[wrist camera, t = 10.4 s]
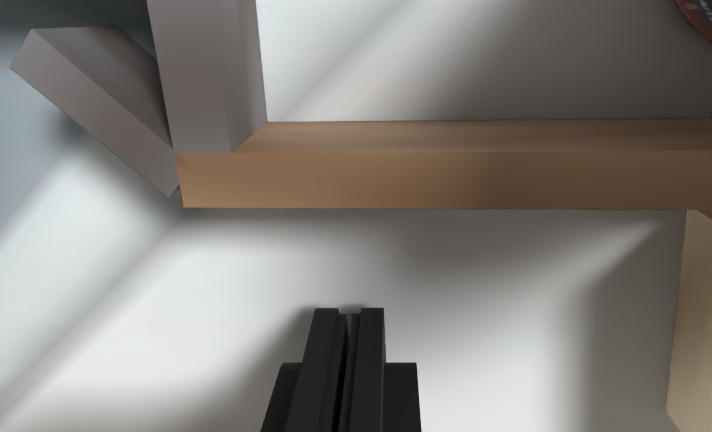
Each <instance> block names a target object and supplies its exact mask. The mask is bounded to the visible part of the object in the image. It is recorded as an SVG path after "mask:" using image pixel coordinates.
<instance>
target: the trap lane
mask: <svg viewBox="0 0 712 432" xmlns="http://www.w3.org/2000/svg"><path fill="white" fill-rule="evenodd" d="M147 6H148V11H149V17H150V23H151V28H152V34H153V39H154V45H155V51H156V56H157V61H156V60H155V59H154V58H152V57H151V56H150V55H149V54H148V53H147V52H146V51H145V50H144V49H142V48H141V47H140V46H139V45H138V44H137V43H136V42H135V41H133V40H132V39H131V38H130V37H129V36H128V35H127V34H126V33H124V32H123V31H122V30H121V29H120V28H119V27H118V26H94V27H68V28H43V29H31V30H30V32H29V34H28V35H27V37H26V39H25V41H24V42H23V44H22V46H21V47H20V49H19V51H18V52H17V54H16V56H15V57H14V59H13V61H12V62H11V64H10V66H9V68H10V69H12V70H13V71H14V72H15V73H16V74H18V75H19V76H20V77H21V78H23V79H24V80H25V81H26V82H27V83H29V84H30V85H31V86H32V87H34V88H35V89H36V90H37V91H38V92H40V93H41V94H42V95H43V96H44V97H46V98H47V99H48V100H49V101H51V102H52V103H53V104H54V105H55V106H57V107H58V108H59V109H60V110H62V111H63V112H64V113H65V114H66V115H68V116H69V117H70V118H71V119H73V120H74V121H75V122H76V123H77V124H79V125H80V126H81V127H82V128H84V129H85V130H86V131H87V132H88V133H90V134H91V135H92V136H93V137H95V138H96V139H97V140H98V141H99V142H101V143H102V144H103V145H104V146H106V147H107V148H108V149H109V150H110V151H112V152H113V153H114V154H115V155H117V156H118V157H119V158H120V159H121V160H123V161H124V162H125V163H126V164H128V165H129V166H130V167H131V168H132V169H134V170H135V171H136V172H137V173H139V174H140V175H141V176H142V177H143V178H145V179H146V180H147V181H148V182H150V183H151V184H152V185H153V186H154V187H156V188H157V189H158V190H159V191H161V192H162V193H163V194H164V195H165V196H167V197H170V196H171V195H172V194H173V193H175V192H176V191H177V190H178V189H180V190H181V196H182V201H183V207H184V208H382V209H588V210H712V118H670V119H559V120H448V121H336V122H267V114H266V104H265V94H264V84H263V73H262V63H261V53H260V42H259V32H258V22H257V12H256V1H255V0H147Z"/></svg>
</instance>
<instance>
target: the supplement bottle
mask: <svg viewBox="0 0 712 432" xmlns="http://www.w3.org/2000/svg"><path fill="white" fill-rule="evenodd" d="M675 2H676V4H677V6H678V8H679V9H680V10H681V12H682V13H683V15H684V16H685V18H686V19H687V21H688V22H689V23H690V24H691V25H692V26H693V27H695V28H696V29H697V30H698V31H699V32H700V33H701V34H702V35H703V36H704V37H705V38H707V39H708V40H710V41H711V42H712V0H675Z"/></svg>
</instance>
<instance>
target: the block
mask: <svg viewBox="0 0 712 432" xmlns="http://www.w3.org/2000/svg"><path fill="white" fill-rule="evenodd" d="M666 412H667V414H668V415H669V417H670V418H671V420H672V421H673V423H674V424H675V425H676V427H677V428H678V430H679V431H680V432H712V210H687V216H686V225H685V234H684V244H683V253H682V262H681V272H680V281H679V290H678V300H677V309H676V318H675V327H674V337H673V346H672V355H671V365H670V374H669V383H668V393H667V402H666Z"/></svg>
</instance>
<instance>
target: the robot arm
mask: <svg viewBox="0 0 712 432" xmlns="http://www.w3.org/2000/svg"><path fill="white" fill-rule="evenodd" d="M260 432H421V420H420V406H419V392H418V378H417V365H416V363H386V349H385V325H384V308H362V309H361V314H353V318H352V326H351V334H350V342H349V333H348V320H347V314H339V309H338V308H317V309H316V310H315V313H314V317H313V321H312V325H311V329H310V333H309V337H308V341H307V345H306V349H305V353H304V356H303V360H302V363H283V364H282V365H281V367H280V370H279V373H278V376H277V380H276V383H275V386H274V389H273V393H272V396H271V399H270V402H269V406H268V409H267V412H266V415H265V419H264V422H263V425H262V428H261V431H260Z"/></svg>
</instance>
